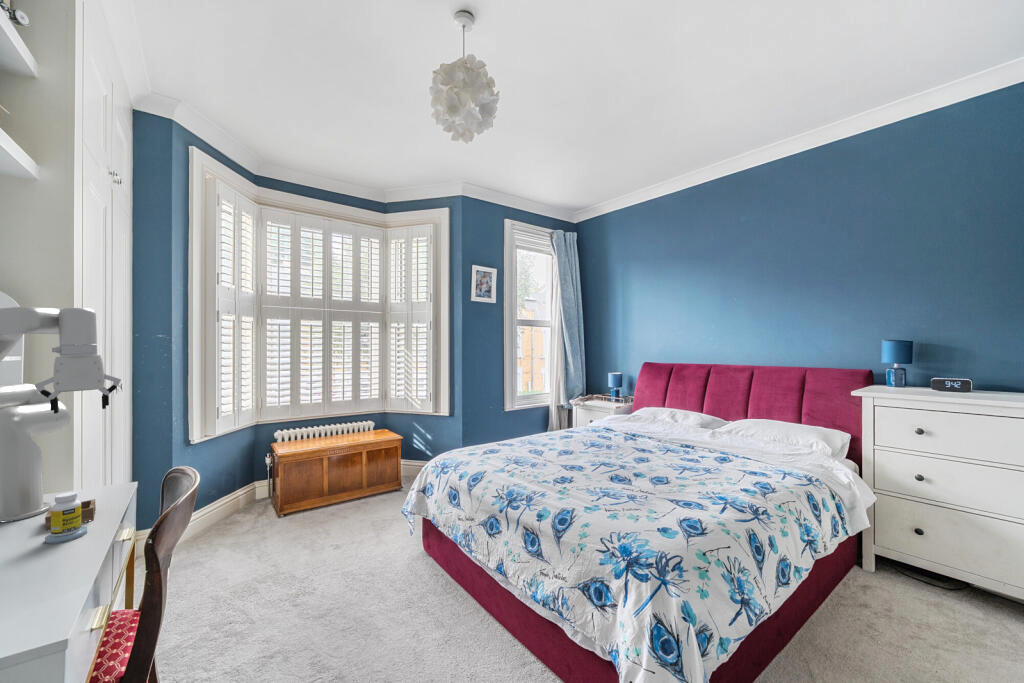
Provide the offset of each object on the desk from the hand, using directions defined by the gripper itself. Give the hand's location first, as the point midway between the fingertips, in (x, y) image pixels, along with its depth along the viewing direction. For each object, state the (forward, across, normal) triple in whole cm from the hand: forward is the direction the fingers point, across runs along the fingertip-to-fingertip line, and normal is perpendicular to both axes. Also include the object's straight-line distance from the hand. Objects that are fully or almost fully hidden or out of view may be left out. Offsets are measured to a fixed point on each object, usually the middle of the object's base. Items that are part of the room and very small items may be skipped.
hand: (80, 410), depth 122 cm
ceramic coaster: (+30, -2, -16) cm, 34 cm away
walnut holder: (+30, -2, -2) cm, 30 cm away
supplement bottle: (+30, -2, -16) cm, 34 cm away
